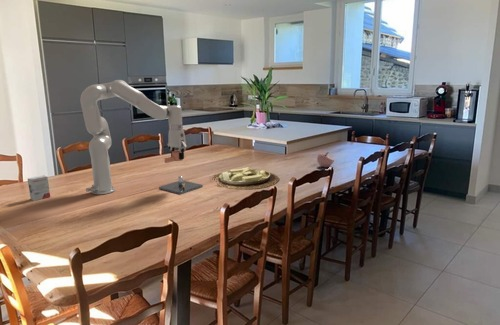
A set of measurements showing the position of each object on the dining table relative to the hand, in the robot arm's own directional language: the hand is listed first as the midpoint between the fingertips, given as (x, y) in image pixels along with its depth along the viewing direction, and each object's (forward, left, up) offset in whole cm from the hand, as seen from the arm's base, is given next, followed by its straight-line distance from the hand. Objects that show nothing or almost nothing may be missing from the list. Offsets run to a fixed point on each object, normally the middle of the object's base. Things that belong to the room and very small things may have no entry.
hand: (177, 158), depth 213 cm
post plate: (+1, 0, -18) cm, 18 cm away
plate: (+38, -19, -19) cm, 47 cm away
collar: (-3, 0, -1) cm, 3 cm away
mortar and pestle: (+98, -47, -18) cm, 111 cm away
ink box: (-57, +48, -18) cm, 76 cm away
